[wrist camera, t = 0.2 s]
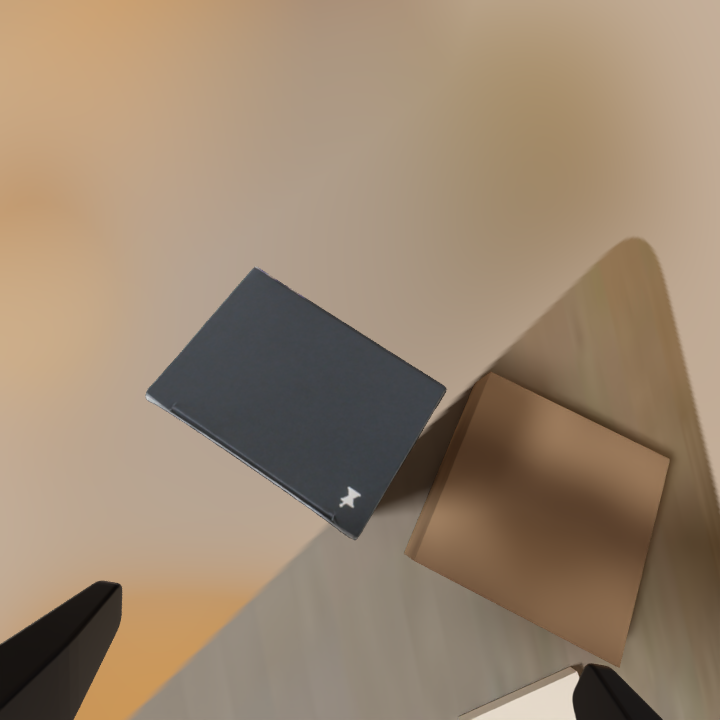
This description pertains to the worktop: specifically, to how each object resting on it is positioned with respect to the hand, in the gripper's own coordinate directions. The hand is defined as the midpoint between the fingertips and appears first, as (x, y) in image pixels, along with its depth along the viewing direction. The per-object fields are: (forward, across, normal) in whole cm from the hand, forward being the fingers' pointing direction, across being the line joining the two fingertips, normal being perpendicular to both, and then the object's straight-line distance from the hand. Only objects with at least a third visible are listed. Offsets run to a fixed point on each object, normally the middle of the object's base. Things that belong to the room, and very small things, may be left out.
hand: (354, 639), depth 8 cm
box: (+15, +2, +4) cm, 16 cm away
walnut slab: (+14, -10, +5) cm, 18 cm away
